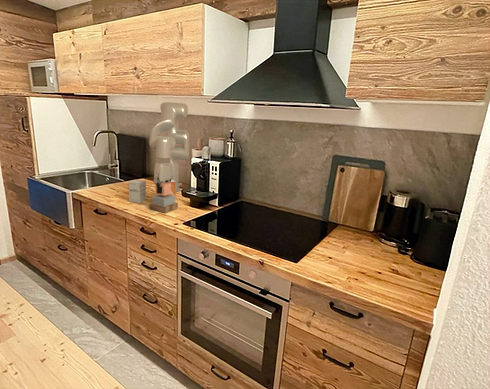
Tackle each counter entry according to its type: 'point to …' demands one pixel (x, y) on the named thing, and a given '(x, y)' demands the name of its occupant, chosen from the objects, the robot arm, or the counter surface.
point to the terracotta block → (165, 188)
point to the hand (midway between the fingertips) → (163, 191)
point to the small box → (172, 188)
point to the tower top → (163, 200)
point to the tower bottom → (163, 208)
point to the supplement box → (137, 191)
